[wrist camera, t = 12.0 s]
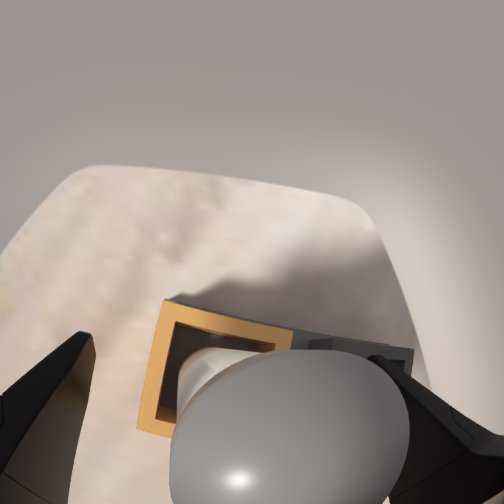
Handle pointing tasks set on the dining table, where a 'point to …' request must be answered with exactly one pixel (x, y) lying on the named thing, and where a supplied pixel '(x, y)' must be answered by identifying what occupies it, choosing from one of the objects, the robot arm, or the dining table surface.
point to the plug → (285, 429)
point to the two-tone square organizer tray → (229, 337)
